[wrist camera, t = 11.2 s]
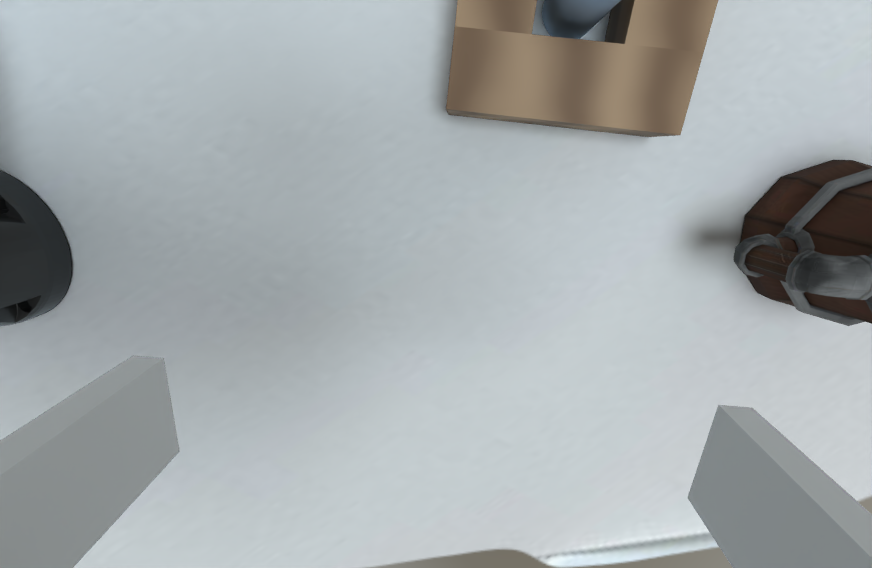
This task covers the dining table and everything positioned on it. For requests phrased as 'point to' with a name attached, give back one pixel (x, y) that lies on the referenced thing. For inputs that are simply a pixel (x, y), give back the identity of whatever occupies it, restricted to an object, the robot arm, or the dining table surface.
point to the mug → (814, 242)
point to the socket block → (580, 67)
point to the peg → (574, 16)
